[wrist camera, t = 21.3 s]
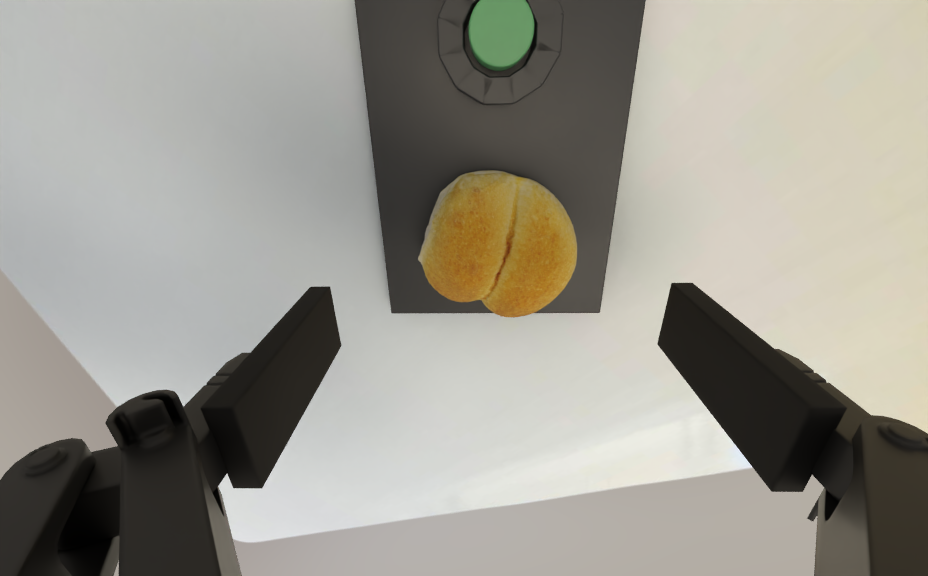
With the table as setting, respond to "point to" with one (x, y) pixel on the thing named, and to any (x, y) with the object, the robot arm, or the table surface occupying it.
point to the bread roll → (499, 243)
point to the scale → (497, 126)
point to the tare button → (500, 32)
